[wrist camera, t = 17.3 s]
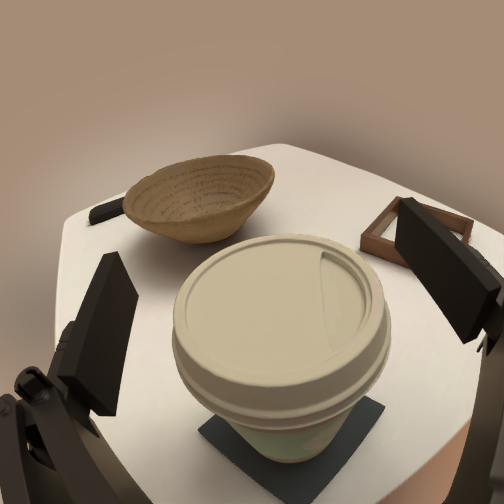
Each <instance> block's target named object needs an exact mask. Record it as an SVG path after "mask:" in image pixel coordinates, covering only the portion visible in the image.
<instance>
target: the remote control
mask: <svg viewBox="0 0 504 504" xmlns="http://www.w3.org/2000/svg"><path fill="white" fill-rule="evenodd" d="M124 198H125V197H122V198H119V199H116V200H113V201H111V202H108V203H105V204H102V205H99V206H96V207H94V208H93V209H92V210H91V211H90V214H89V221H90V225H93V224H96V223H98V222H101V221H103V220H106V219H109V218H111V217H114V216H117V215H119V214H122V213H124V211H123V200H124Z"/></svg>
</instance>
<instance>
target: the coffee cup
mask: <svg viewBox="0 0 504 504" xmlns="http://www.w3.org/2000/svg"><path fill="white" fill-rule="evenodd" d="M173 325H174V326H173V332H172V347H173V353H174V357H175V361H176V365H177V369H178V372H179V374H180V377H181V379H182V381H183V383H184V384H185V386H186V387H187V389H188V390H189V392H190V393H191V394H192V395H193V396H194V397H195V398H196V399H197V400H198V401H199V402H200V403H201V404H202V405H203V406H204V407H206V408H207V409H209V410H210V411H211V412H213V413H215V414H216V415H218V416H220V417H222V418H224V419H225V420H226V421H227V422H228V423H229V424H230V425H231V426H232V427H233V428H234V429H235V430H236V431H237V432H238V433H239V434H240V435H241V436H242V437H243V438H244V439H245V440H246V441H247V442H248V443H249V444H250V445H251V446H253V447H254V448H255V449H256V450H257V451H258V452H259V453H261V454H262V455H263V456H265V457H267V458H269V459H271V460H273V461H277V462H281V463H298V462H302V461H306V460H309V459H311V458H313V457H315V456H317V455H318V454H319V453H321V452H322V451H323V450H324V449H325V448H326V447H327V446H328V445H329V443H330V442H331V441H332V439H333V438H334V436H335V435H336V433H337V432H338V430H339V429H340V427H341V426H342V424H343V423H344V421H345V420H346V418H347V417H348V415H349V413H350V412H351V410H352V408H353V407H354V405H355V404H356V402H357V401H359V400H360V399H361V398H362V397H363V396H364V395H365V394H366V393H367V392H368V391H369V390H370V389H371V388H372V386H373V385H374V384H375V382H376V381H377V380H378V378H379V376H380V375H381V373H382V371H383V369H384V367H385V364H386V362H387V359H388V356H389V351H390V345H391V318H390V313H389V309H388V306H387V303H386V300H385V298H384V293H383V288H382V285H381V282H380V280H379V278H378V276H377V274H376V273H375V271H374V270H373V268H372V267H371V266H370V265H369V264H368V263H367V261H366V260H364V259H363V258H362V257H361V256H360V255H358V254H357V253H356V252H354V251H353V250H351V249H349V248H347V247H345V246H343V245H341V244H339V243H337V242H334V241H331V240H328V239H324V238H321V237H316V236H310V235H301V234H279V235H269V236H262V237H257V238H253V239H249V240H246V241H243V242H240V243H237V244H234V245H232V246H229V247H227V248H225V249H223V250H221V251H219V252H218V253H216V254H214V255H213V256H211V257H209V258H208V259H207V260H205V261H204V262H203V263H201V264H200V265H199V266H198V267H197V268H196V269H195V270H194V271H193V272H192V273H191V274H190V275H189V277H188V278H187V279H186V280H185V282H184V283H183V285H182V287H181V288H180V290H179V293H178V295H177V297H176V301H175V304H174V310H173Z"/></svg>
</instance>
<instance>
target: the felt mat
mask: <svg viewBox="0 0 504 504" xmlns="http://www.w3.org/2000/svg"><path fill="white" fill-rule="evenodd" d="M384 409H385V406H384V405H382V404H380V403H378V402H376V401H374V400H372V399H370V398H368V397H367V396H365V395H364V396H363V397H362V398H361V399H360V400H359V401H357V402H356V404H355V405H354V407H353V408H352V410H351V412H350V413H349V415H348V417H347V418H346V420H345V421H344V423H343V424H342V426H341V427H340V429H339V430H338V432H337V433H336V435H335V436H334V438H333V439H332V441H331V442H330V443H329V445H328V446H327V447H326V448H325V449H324V450H323V451H322V452H321V453H319V454H318V455H317V456H315V457H313V458H311V459H309V460H306V461H302V462H298V463H281V462H277V461H273V460H271V459H269V458H267V457H265V456H263V455H262V454H261V453H259V452H258V451H257V450H256V449H255V448H254V447H253V446H251V445H250V444H249V443H248V442H247V441H246V440H245V439H244V438H243V437H242V436H241V435H240V434H239V433H238V432H237V431H236V430H235V429H234V428H233V427H232V426H231V425H230V424H229V423H228V422H227V421H226V420H225V419H224V418H222V417H220V416H218V415H216V414H215V415H214V416H213V417H211V418H210V419H209V420H208V421H207V422H206V423H205V424H203V425H202V426H201V427H200V428H199V429H198V431H199V432H200V433H201V434H202V435H203V436H204V437H205V438H206V439H207V440H208V441H209V442H210V443H211V444H212V445H214V446H215V447H216V448H217V449H218V450H219V451H220V452H221V453H223V454H224V455H225V456H226V457H227V458H228V459H229V460H231V461H232V462H233V463H234V464H235V465H236V466H238V467H239V468H240V469H241V470H242V471H244V472H245V473H246V474H247V475H249V476H250V477H251V478H252V479H254V480H255V481H256V482H258V483H259V484H260V485H261V486H263V487H264V488H265V489H267V490H268V491H269V492H271V493H272V494H273V495H275V496H276V497H278V498H279V499H280V500H282V501H283V502H285V503H286V504H310V503H311V502H312V501H313V500H314V499H315V498H316V497H317V496H318V495H319V494H320V492H321V491H322V490H323V489H324V488H325V487H326V486H327V485H328V483H329V482H330V481H331V480H332V479H333V478H334V476H335V475H336V474H337V473H338V472H339V470H340V469H341V468H342V467H343V466H344V464H345V463H346V462H347V461H348V459H349V458H350V457H351V455H352V454H353V453H354V452H355V450H356V449H357V448H358V446H359V445H360V444H361V442H362V441H363V440H364V438H365V437H366V435H367V434H368V433H369V431H370V430H371V428H372V427H373V425H374V424H375V422H376V421H377V420H378V418H379V417H380V415H381V414H382V412H383V411H384Z"/></svg>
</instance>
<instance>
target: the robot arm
mask: <svg viewBox="0 0 504 504" xmlns="http://www.w3.org/2000/svg"><path fill="white" fill-rule="evenodd" d="M394 248H395V249H396V250H397V252H398V253H399V254H400V255H401V257H402V258H403V259H404V261H405V262H406V263H407V264H408V266H409V267H410V268H411V270H412V271H413V272H414V274H415V275H416V276H417V278H418V279H419V280H420V282H421V283H422V284H423V286H424V287H425V288H426V290H427V291H428V293H429V294H430V295H431V297H432V298H433V300H434V301H435V302H436V304H437V305H438V307H439V308H440V310H441V311H442V313H443V314H444V315H445V317H446V318H447V320H448V321H449V323H450V324H451V326H452V327H453V329H454V331H455V332H456V334H457V335H458V337H459V338H460V340H461V341H462V343H463V344H466V343H468V342H470V341H472V340H474V339H476V338H477V337H478V335H479V333H480V332H481V330H482V328H483V329H484V331H485V332H486V335H485V336H484V338H483V340H482V342H481V343H480V345H479V347H478V349H477V352H479V351H480V350H481V348H482V347H483V351H482V360H481V368H480V375H479V382H478V388H477V394H476V399H475V404H474V409H473V414H472V418H471V423H470V427H469V431H468V435H467V439H466V443H465V446H464V450H463V453H462V456H461V459H460V463H459V466H458V469H457V472H456V475H455V478H454V480H453V483H452V486H451V488H450V491H449V494H448V496H447V498H446V499H445V501H444V502H443V503H442V504H504V278H503V277H502V276H501V275H500V274H499V273H498V272H497V271H496V269H495V268H494V267H493V266H492V265H490V263H489V262H488V261H487V260H486V259H484V257H483V256H482V255H481V254H480V253H479V252H478V251H477V250H476V249H474V248H473V247H471V246H469V245H468V244H466V245H464V244H463V243H462V242H461V241H460V240H459V239H458V238H457V237H456V236H455V235H454V234H453V233H452V232H451V231H450V230H448V229H447V228H446V227H445V226H444V225H443V224H442V223H441V222H440V221H439V220H438V219H437V218H436V217H434V216H433V215H432V214H431V213H430V212H429V211H428V210H427V209H426V208H424V207H423V206H422V205H421V204H420V203H419V202H418V201H416V200H415V199H414V198H413V197H410V198H403V199H399V209H398V219H397V228H396V236H395V244H394ZM138 297H139V295H138V293H137V291H136V289H135V287H134V285H133V283H132V281H131V279H130V277H129V275H128V273H127V271H126V269H125V267H124V264H123V262H122V260H121V258H120V256H119V253H118V251H116V252H112V253H107V254H103V256H102V258H101V261H100V263H99V265H98V267H97V269H96V272H95V274H94V276H93V278H92V281H91V283H90V285H89V288H88V290H87V292H86V295H85V297H84V299H83V302H82V304H81V307H80V309H79V312H78V314H77V317H76V320H75V321H70V322H69V323H68V325H67V326H66V327H65V329H64V330H63V332H62V334H61V337H60V340H59V343H58V345H57V348H56V352H55V353H54V357H53V359H52V362H51V365H50V368H49V371H48V374H47V377H46V376H45V375H44V374H43V373H42V372H41V371H40V370H39V369H38V368H37V367H34V366H32V367H28V368H26V369H24V370H23V371H22V372H21V373H20V374H19V376H18V377H17V379H16V382H15V385H14V388H15V392H16V393H17V394H18V395H19V396H20V397H22V399H21V400H16V399H15V398H14V397H13V396H12V395H10V394H4V395H3V396H1V397H0V488H1V493H2V499H3V503H4V504H153V503H152V502H151V500H150V499H149V498H148V497H147V496H146V494H145V493H144V492H143V491H142V490H141V488H140V487H139V486H138V485H137V483H136V482H135V481H134V479H133V478H132V477H131V476H130V474H129V473H128V472H127V470H126V469H125V468H124V466H123V465H122V463H121V462H120V461H119V459H118V458H117V456H116V455H115V454H114V452H113V451H112V449H111V448H110V446H109V445H108V443H107V442H106V440H105V439H104V437H103V435H102V434H101V432H100V431H99V429H98V428H97V426H96V424H95V423H94V421H93V420H92V419H91V418H90V417H89V415H90V409H91V410H92V411H94V412H95V413H96V414H97V415H98V416H116V410H117V403H118V397H119V390H120V384H121V378H122V373H123V367H124V362H125V356H126V351H127V346H128V341H129V337H130V332H131V327H132V323H133V318H134V314H135V310H136V305H137V301H138ZM27 443H28V444H29V450H28V447H27Z"/></svg>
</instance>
